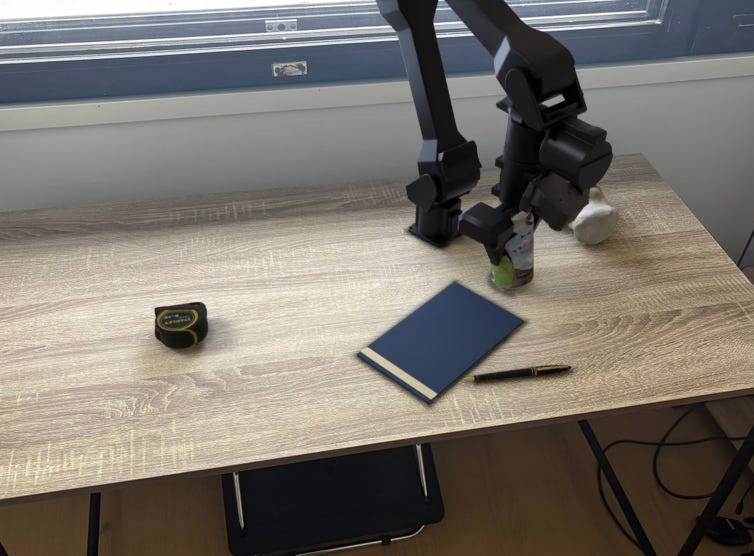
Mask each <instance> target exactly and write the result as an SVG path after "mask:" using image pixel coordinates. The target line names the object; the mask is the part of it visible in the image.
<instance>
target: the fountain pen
mask: <svg viewBox="0 0 754 556" xmlns="http://www.w3.org/2000/svg"><path fill="white" fill-rule="evenodd" d="M572 368H573V366H570V365H568V364H549V365H538V366H537V365H536V366H530V367H525V368H517V369H510V370H508V369H507V370H501V371H493V372H487V373H482V374H474V375H473V376H472V377H471V376H467V377H465V378H462V379H461V381H467V382H470V381H473V382H485V381H498V380H508V379H518V378H519V379H520V378H528V377H531V378H533V377H542V376H548V375H549V376H550V375H554V374H559V373H564V372H567V371H569V370H571V369H572Z"/></svg>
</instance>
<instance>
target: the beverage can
mask: <svg viewBox="0 0 754 556" xmlns="http://www.w3.org/2000/svg"><path fill="white" fill-rule="evenodd" d="M499 205H500V203H498V204H496V205H495V206H493V208H496V207H498V206H499ZM512 220H513V223H514V230H513V232H515V233H517V235H516V236H515V237H514V238H512V239H511V240H510V241H508V242H507V243H506V245H505V249H504V252H503V256H502V259H501V261H500V264H499V266H494V265H493V264H491V262H490V261H489V271H490V279H491V282H492V283H493V284H495V285H496V286H498V287H500V288H503V289H505V290H506V289H507V290H516V289H520V288H523V287H525V286H526V285H529V284H530V283H531V282H532V281H533V278H534V276H535V232H534V217H533V215H532V213H531V212H529V213H525V212H522V213H520V214H519V215H517V216H516V217H515V218H513V219H512Z"/></svg>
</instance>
